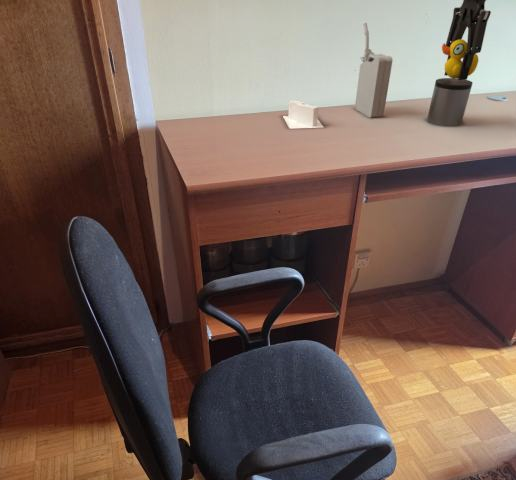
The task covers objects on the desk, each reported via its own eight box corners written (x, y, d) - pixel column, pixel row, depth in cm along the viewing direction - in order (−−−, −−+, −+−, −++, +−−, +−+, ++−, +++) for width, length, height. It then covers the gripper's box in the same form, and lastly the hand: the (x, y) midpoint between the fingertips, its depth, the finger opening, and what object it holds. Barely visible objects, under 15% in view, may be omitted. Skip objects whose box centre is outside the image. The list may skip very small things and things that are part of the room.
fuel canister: (350, 107, 163) (360, 22, 146) (363, 106, 164) (374, 22, 147) (369, 118, 152) (383, 28, 135) (383, 117, 153) (398, 27, 136)
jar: (462, 127, 143) (473, 86, 136) (426, 124, 146) (435, 84, 138) (461, 118, 151) (471, 79, 143) (427, 115, 154) (435, 77, 146)
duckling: (435, 78, 139) (444, 40, 133) (435, 75, 143) (443, 37, 137) (474, 80, 137) (484, 41, 131) (472, 77, 141) (482, 38, 134)
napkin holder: (324, 127, 144) (326, 107, 140) (289, 128, 143) (290, 109, 139) (314, 114, 155) (315, 96, 151) (282, 116, 154) (282, 97, 150)
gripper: (446, -19, 131) (427, 72, 146) (490, -17, 117) (464, 84, 132) (468, -20, 133) (447, 70, 148) (514, -17, 119) (485, 82, 134)
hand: (455, 77), depth 140 cm, fingers closed on duckling, 6 cm apart
